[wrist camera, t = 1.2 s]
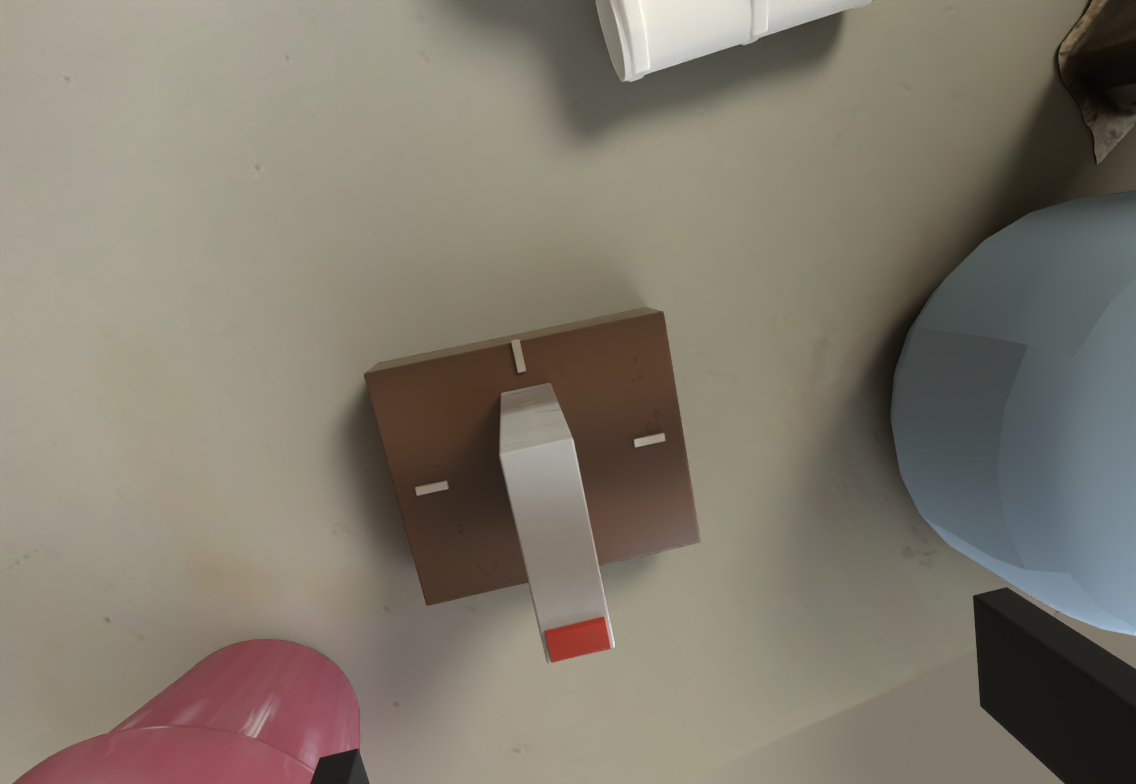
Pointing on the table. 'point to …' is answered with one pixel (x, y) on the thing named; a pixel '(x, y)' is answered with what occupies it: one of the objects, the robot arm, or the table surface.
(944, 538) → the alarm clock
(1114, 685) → the robot arm
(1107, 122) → the radio
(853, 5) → the white brass knuckles
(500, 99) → the table surface
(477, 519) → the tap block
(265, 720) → the flower pot
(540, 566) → the red-tipped white block
